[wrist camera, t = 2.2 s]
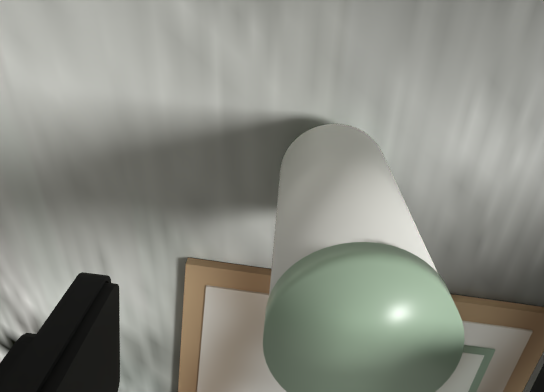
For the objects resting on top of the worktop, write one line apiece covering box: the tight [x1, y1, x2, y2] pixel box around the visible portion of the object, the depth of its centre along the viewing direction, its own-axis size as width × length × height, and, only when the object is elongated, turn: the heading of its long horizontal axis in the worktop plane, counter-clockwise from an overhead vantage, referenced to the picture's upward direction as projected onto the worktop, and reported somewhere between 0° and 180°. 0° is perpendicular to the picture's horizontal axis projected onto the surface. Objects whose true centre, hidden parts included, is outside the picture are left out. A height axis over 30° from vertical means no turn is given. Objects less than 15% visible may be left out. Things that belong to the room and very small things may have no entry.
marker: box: [263, 124, 465, 392], centre depth 14 cm, size 4×4×10 cm
